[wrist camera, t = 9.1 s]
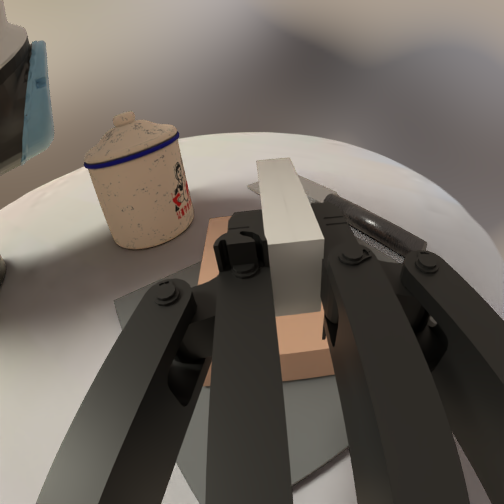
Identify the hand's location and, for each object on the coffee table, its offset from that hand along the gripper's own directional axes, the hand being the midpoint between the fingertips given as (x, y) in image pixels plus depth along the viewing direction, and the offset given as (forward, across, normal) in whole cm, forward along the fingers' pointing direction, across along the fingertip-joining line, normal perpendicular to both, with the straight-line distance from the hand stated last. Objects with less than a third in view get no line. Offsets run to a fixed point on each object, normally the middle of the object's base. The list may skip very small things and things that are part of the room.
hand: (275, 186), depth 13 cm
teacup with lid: (+14, -12, -8) cm, 20 cm away
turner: (+12, +5, -8) cm, 15 cm away
